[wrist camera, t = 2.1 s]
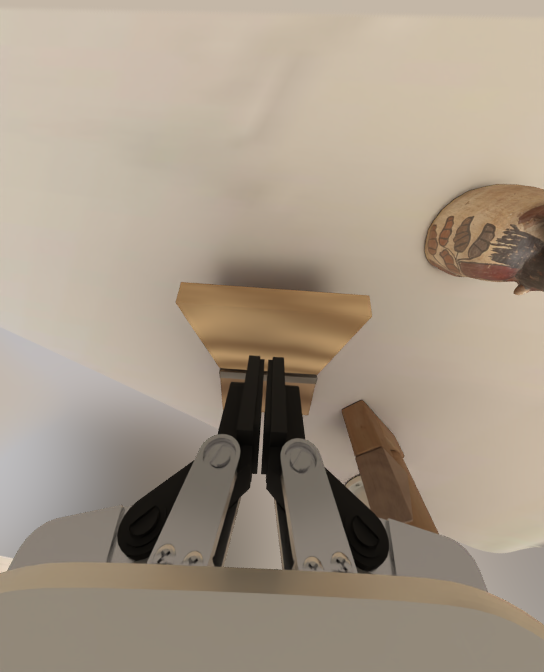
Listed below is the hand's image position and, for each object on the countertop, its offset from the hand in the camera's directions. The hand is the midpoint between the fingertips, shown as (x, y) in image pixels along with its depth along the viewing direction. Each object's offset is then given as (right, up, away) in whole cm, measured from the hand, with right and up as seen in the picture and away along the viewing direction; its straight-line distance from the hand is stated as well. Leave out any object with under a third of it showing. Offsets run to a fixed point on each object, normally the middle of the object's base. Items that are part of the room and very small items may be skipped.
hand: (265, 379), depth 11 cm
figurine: (+18, +12, +10) cm, 24 cm away
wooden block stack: (+15, -11, +24) cm, 30 cm away
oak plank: (0, +2, +10) cm, 10 cm away
